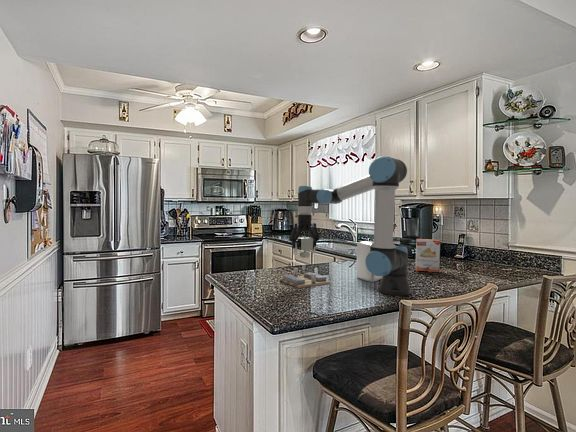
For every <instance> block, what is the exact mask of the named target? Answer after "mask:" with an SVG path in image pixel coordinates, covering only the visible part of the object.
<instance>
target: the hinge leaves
mask: <svg viewBox="0 0 576 432" xmlns="http://www.w3.org/2000/svg"><path fill="white" fill-rule="evenodd" d="M298 269H299V268H298V267H293V274H285V275H282V278H283V279H284V280H286V281H289V282H292V283H294V284H305V280H304V279H301V278H299V277H298V276H299V273H298V272H299V270H298ZM303 275H304V277H307V278H310V279H311V283H312V284H315V283H316V281H318V282H320V281H326V280H327V276H325V275H321V274H317V273H314V272H303Z"/></svg>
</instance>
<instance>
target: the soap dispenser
mask: <svg viewBox="0 0 576 432" xmlns="http://www.w3.org/2000/svg"><path fill="white" fill-rule="evenodd" d="M373 242H374V240H373V241H371V240H364V241H358V242H357V243H356V277H357V279H359V280H363V281H365V282H369V283H370V282H372V283H374V282H378V281H381V279H382V276H375V275H373V274H372V273H370V271H369V270H368V269H367V267H366V264H365V259H366V256H367V255H368V254H369V253H370V245H371V244H372V243H373Z"/></svg>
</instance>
